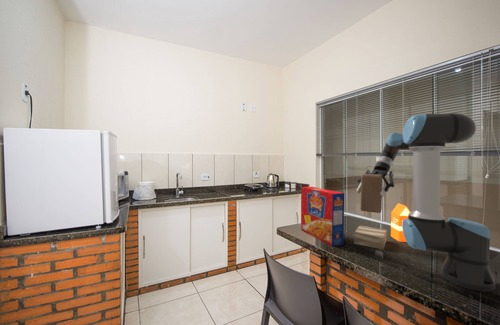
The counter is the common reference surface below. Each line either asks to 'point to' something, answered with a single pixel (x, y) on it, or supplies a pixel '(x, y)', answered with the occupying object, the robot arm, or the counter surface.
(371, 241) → the plinth
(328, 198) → the pasta box
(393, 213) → the orange juice
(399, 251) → the counter surface
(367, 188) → the block
